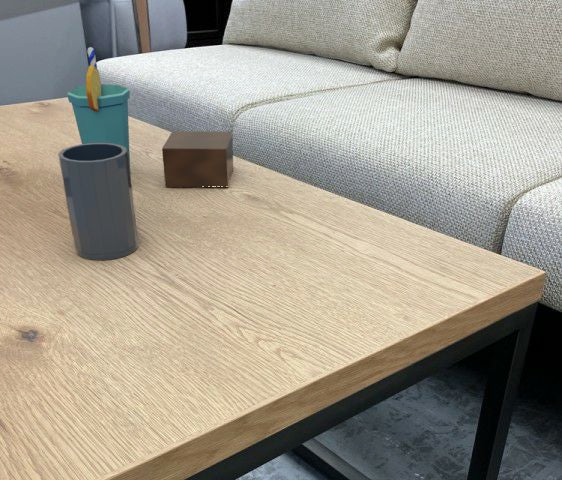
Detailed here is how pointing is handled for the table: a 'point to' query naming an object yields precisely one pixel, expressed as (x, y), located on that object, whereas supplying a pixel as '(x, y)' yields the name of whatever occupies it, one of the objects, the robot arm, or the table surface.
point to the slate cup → (99, 200)
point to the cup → (101, 109)
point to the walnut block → (198, 159)
